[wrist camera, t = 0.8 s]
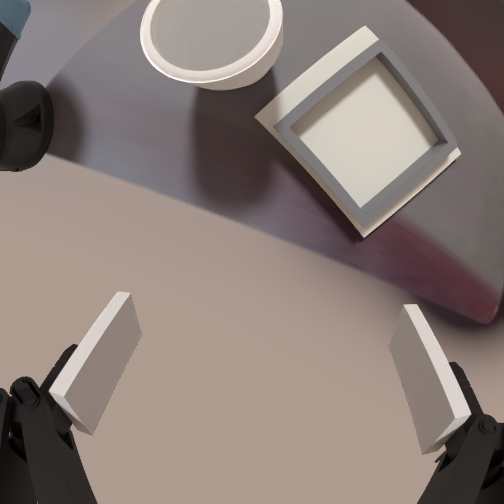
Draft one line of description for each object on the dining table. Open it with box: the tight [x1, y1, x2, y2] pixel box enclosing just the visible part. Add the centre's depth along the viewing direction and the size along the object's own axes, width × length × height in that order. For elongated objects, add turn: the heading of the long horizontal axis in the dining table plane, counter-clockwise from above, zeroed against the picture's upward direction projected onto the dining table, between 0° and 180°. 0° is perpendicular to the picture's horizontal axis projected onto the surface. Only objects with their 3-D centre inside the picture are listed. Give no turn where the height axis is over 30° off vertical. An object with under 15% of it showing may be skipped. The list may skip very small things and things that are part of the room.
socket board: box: [254, 26, 461, 237], centre depth 30 cm, size 20×18×4 cm
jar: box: [140, 0, 283, 90], centre depth 22 cm, size 11×10×15 cm
